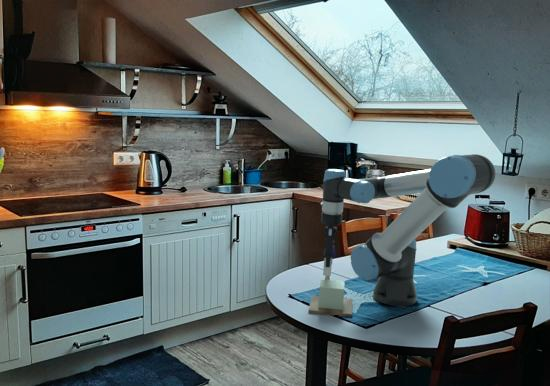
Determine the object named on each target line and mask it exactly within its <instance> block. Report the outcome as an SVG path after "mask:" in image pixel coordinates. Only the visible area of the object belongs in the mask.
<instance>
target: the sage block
mask: <svg viewBox="0 0 550 386" xmlns="http://www.w3.org/2000/svg"><path fill="white" fill-rule="evenodd" d="M345 282H346V281H345V280H344V281H343V280H332V279H330V280H325V279H320V283H319V293H318V296H319V306H318V308H329V309H339V310H343V301H344V298H345Z"/></svg>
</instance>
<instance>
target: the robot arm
mask: <svg viewBox="0 0 550 386" xmlns="http://www.w3.org/2000/svg"><path fill="white" fill-rule="evenodd" d="M346 174H347V172H346V171H345V170H343V169H337V168H328V169H326V170H325V171H324V175H323V180H322V183H323V185H322V187H323V188H322V202H320V206H321V211H322V212H321V216H320V222H321V224H323V225H327V226H325V229H324V234H325V235H324V240H325V248H324V251H325V255H322V258H323V271H322V275H323V276H325V275H326V276H330V277H331V275H332V265H333V258H332V249H333V246H334V247H336V243H335V239H336V234H337V227H335V226H339V225H341V224H342V223H343V212H344V203H345V201H344V200H347V201H350V202H354V203H357V204H369V203H370V202H371V201H373V200H377V199H386V198H392V197H399V196H402V197H403V196H409V195H417V196H416V197H415V199H413V201H411V202H410V204H409V205H407V206H406V208H405V209H404V210H403V211H402V212H401V213H400V214H399V215H397V217H396V218H395V219H394V220H393V221H392V222H391V223H390V224H389V225H388V226H387V227H386V228H385V229H384V231H382V232H375V233H374V234H373V235H372V236H371V237H370V238H368V239H367V241H366V242H365V243H364V244H358V245H356V246H355V247H354V248H353V249H352V250H351V252H350V264H351V267H352V270H353V271H354V273H355V274H356V275H357V276H358V277H359V278H360V279H363V280H365V281H371V280H375V279H377V281H376V284H375V285H374V288H373V290H372V291H373V292H372V298H374V300H375V301H377V302H379V303H382V304H384V305H389V306H395V307H396V306H397V307H408V306H409V307H410V306H413V305H414V304H416V303H417V300H418V299H417V298H418V293H417V290H416V286H415V282H414V276H415V275H414V273H415V263H416V256H417V255H416V252H417V240H416V239H417V238H418V237H419V236H420V235H421V234H422V233H423V232H424V231H425V230H426V229H427V228H428V227H429V226H430V225H431V224H432V223H434V221H436V220H437V219H438V218H439V217H440V216H441V215H442V214H443V213H444V212H445V211H446V210H447V209H455V208H457V207H458V206H459V205H460V204H461V203H463V201H464V200H465V199H467V197H469V196H470V195H476V194H480V193H484V192H485V191H487V190H488V189H490V188H491V186H492V185H493V183H494V182H495V179H496V168H495V166H494V163H493V162H492V161H491V160H490V159H489V158H487V157H486V156H484V155H481V154H478V153H477V154H463V155H462V154H461V155H460V154H453V155H448V156H444V157H442V158H440V159H438V160H437V161H435V162H434V163H433V164H432V166H431V168H428V169H421V170H416V171H410V172H404V173H403V172H402V173H397V174H390V175H384V176H378V177H370V178H358V179H357V178H350V177H347V175H346ZM330 254H331V255H330Z"/></svg>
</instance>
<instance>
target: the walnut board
mask: <svg viewBox="0 0 550 386" xmlns="http://www.w3.org/2000/svg"><path fill="white" fill-rule="evenodd" d="M318 306H319V295H313V294H311V298H310V302H309V307H308V314H316V315H325V316H326V315H327V316H334V315H340V316H339V317H345V316H348V317H349V318H353V298H345V297H344V301H343V310H339V309H329V308H318ZM348 317H347V318H348Z"/></svg>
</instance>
